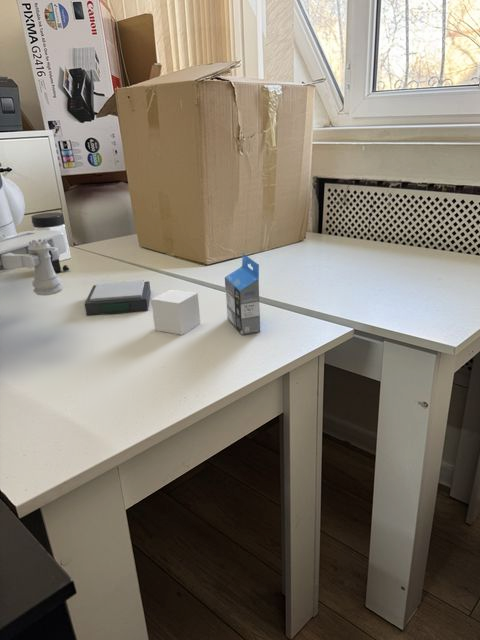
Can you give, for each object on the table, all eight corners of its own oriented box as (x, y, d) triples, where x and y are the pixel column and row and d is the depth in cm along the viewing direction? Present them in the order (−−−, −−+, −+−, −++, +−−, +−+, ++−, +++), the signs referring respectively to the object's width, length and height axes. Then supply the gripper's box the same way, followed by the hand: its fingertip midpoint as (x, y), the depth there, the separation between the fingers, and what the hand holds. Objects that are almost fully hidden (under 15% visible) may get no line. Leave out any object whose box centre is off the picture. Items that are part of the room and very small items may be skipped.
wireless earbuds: (51, 274, 128) (48, 262, 126) (46, 268, 133) (43, 256, 132) (70, 271, 130) (67, 259, 129) (64, 265, 136) (62, 253, 134)
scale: (86, 316, 100) (83, 301, 99) (95, 296, 111) (92, 282, 110) (147, 311, 102) (145, 296, 100) (150, 292, 113) (149, 278, 112)
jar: (33, 262, 140) (23, 218, 135) (49, 254, 147) (40, 212, 142) (63, 262, 138) (54, 217, 133) (77, 254, 146) (69, 212, 140)
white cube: (200, 323, 95) (197, 292, 92) (182, 335, 90) (178, 303, 88) (174, 318, 98) (170, 288, 95) (154, 330, 93) (150, 298, 90)
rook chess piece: (68, 291, 80) (58, 240, 76) (40, 298, 77) (28, 245, 73) (56, 285, 83) (46, 236, 79) (28, 292, 80) (17, 241, 76)
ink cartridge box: (226, 318, 97) (222, 255, 91) (245, 315, 98) (242, 252, 93) (241, 335, 89) (237, 267, 84) (261, 332, 90) (259, 264, 85)
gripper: (32, 254, 92) (94, 260, 87) (-73, 288, 75) (-4, 298, 70) (25, 219, 89) (87, 223, 84) (-86, 246, 72) (-16, 253, 67)
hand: (45, 257), depth 77 cm, fingers closed on rook chess piece, 3 cm apart
